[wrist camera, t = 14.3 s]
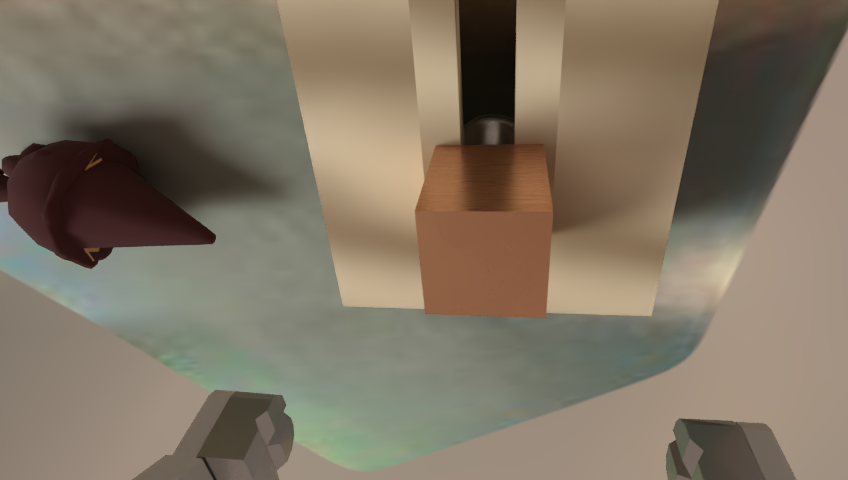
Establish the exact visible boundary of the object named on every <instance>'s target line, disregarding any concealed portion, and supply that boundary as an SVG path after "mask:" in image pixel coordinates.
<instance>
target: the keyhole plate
mask: <svg viewBox="0 0 848 480" xmlns="http://www.w3.org/2000/svg"><path fill="white" fill-rule="evenodd" d="M277 3H278V8H279V12H280V17H281V22H282V26H283V31H284V35H285V40H286V45H287V49H288V54H289V59H290V63H291V68H292V72H293V77H294V82H295V86H296V91H297V95H298V100H299V105H300V109H301V114H302V119H303V123H304V128H305V132H306V137H307V142H308V146H309V151H310V155H311V160H312V165H313V169H314V174H315V179H316V183H317V188H318V192H319V197H320V202H321V206H322V211H323V215H324V220H325V225H326V229H327V234H328V239H329V243H330V248H331V252H332V257H333V262H334V266H335V271H336V275H337V280H338V285H339V289H340V294H341V298H342V303H343V306H352V307H383V308H415V309H424V299H423V289H422V279H421V269H420V259H419V250H418V240H417V230H416V220H415V209H416V205H417V202H418V199H419V196H420V193H421V190H422V186H423V183H424V180H425V177H426V174H427V171H428V167H429V164H430V161H431V158H432V155H433V152H434V148H435V146H452V145H464V125H463V100H462V75H461V50H460V25H459V0H277ZM718 3H719V0H517V9H516V69H515V128H514V144H544V150H545V157H546V164H547V171H548V178H549V185H550V192H551V199H552V206H553V223H552V237H551V252H550V267H549V281H548V296H547V311H546V313H570V314H601V315H633V316H652V311H653V307H654V302H655V297H656V293H657V288H658V283H659V278H660V274H661V269H662V264H663V260H664V255H665V250H666V246H667V241H668V236H669V232H670V227H671V222H672V218H673V213H674V208H675V204H676V199H677V194H678V190H679V185H680V180H681V176H682V171H683V166H684V162H685V157H686V152H687V148H688V143H689V138H690V134H691V129H692V124H693V119H694V115H695V110H696V105H697V101H698V96H699V91H700V87H701V82H702V77H703V73H704V68H705V63H706V59H707V54H708V49H709V45H710V40H711V35H712V31H713V26H714V21H715V17H716V12H717V7H718Z"/></svg>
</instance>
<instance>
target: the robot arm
mask: <svg viewBox="0 0 848 480" xmlns="http://www.w3.org/2000/svg"><path fill="white" fill-rule="evenodd" d="M285 407H286V403H285V401H284V399H283V396H282V395H273V394H261V393H249V392H238V391H224V390H215V391H214V392H213V393H211V394H210V395H209V396H208V398H207V399H206V401H205V403H204V404H203V406H202V407H201V409H200V411H199V412H198V414H197V416H196V417H195V419H194V420H193V422H192V424H191V426H190V427H189V429H188V430H187V432H186V434H185V435H184V437H183V439H182V440H181V442H180V443H179V445H178V447H177V448H176V450H175V452H174V453H173V455H165V456H164V457H163V458H161V459H160V460H158V461H157V462H156V463H154V464H153V465H152V466H150V467H149V468H147V469H146V470H145V471H143V472H142V473H141V474H139V475H138V476H136V477H135V478H134V479H132V480H279V477H278V474H277V470H278V469H279V468H280V467H281V466H283V465H284V464H285V463H286V462H287V461H288V458H289V455H290V453H291V450H292V445H293V439H294V427H293V423H292V420H291V418H290V417H289V416H288V415H286V414H285V413H284V412H283V411H284V409H285ZM673 431H674V434H675V438H676V440H675V441H673V442H672V443H670V444H669V446H668V450H667V454H666V471H667V477H668V480H796V478H795V476H794V474H793V472H792V470H791V468H790V466H789V464H788V462H787V460H786V458H785V456H784V454H783V452H782V450H781V448H780V446H779V444H778V442H777V440H776V438H775V436H774V434H773V432H772V430H771V429H770V428H769V427H768V426H767V425H766V424H763V423H746V422H745V423H744V422H733V421H721V420H700V419H678V420H677V421H676V423H675V426H674V429H673Z"/></svg>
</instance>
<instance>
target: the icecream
mask: <svg viewBox="0 0 848 480" xmlns="http://www.w3.org/2000/svg"><path fill="white" fill-rule="evenodd" d="M4 173H5V174H7V175H8V176H9V177H7V176H5V175H3V174H4ZM7 201H8V210H9V214H10V216H11V217H12V218H13V219H14V220H15V221H16V223H17V224H18V225H19V226H20V227H21V228H22V229H23V230H24V231H25V232H26V233H27V234H28V235H29V236H30V237H31V238H32V239H33V240H34V241H35V242H36V243H37V244H38V245H40V246H42V247H44V248H46V249H48V250H50V251H52V252H54V253H55V254H56V255H57V256H59V257H60V258H62V259H65V260H69V261H72V262H74V263H76V264H79V265H81V266H83V267H86V268H90V269H92V268H93V267H94V266H95V265H97V263H98V260H103V259H105V258H106V257H107V256H109V254H110V253H111V252H112V249H113V247H138V246H168V245H203V244H213V243H214V242H215V240H216V235H215V234H214V233H213V232H211V231H210V230H209V229H208V228H206V227H205V226H204V225H202V224H201V223H200V222H198V221H197V220H196V219H194V218H193V217H192V216H190V215H189V214H187V213H186V212H185V211H184V210H182V209H181V208H180V207H178V206H177V205H176V204H174V203H173V202H172V201H171V200H169V199H168V198H167V197H165V196H164V195H163V194H161V193H160V192H159V191H158V190H156V189H155V188H154V187H152V186H151V185H150V184H148V183H147V182H146V181H145V180H143V179H142V178H141V177H139V174H138V167H137V163H136V159H135V157H134V156H133V155H132V154H131V153H130V152H128V151H126V150H124V149H122V148H120V147H118V146H116V145H115V144H114V143H113V142H112V141H111V140H104V141H102V142H97V143H91V142H80V141H70V140H65V141H60V142H56V143H51V144H49V145H47V146H46V145H40V144H34V143H33V144H32V145H30V146H29V147H28V148H27V149H25V150H24V151H23V152H22V153H21V154H20V155H13V156H8V157H5V158H3V159H2V170H1V169H0V202H7Z"/></svg>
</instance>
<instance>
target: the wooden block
mask: <svg viewBox="0 0 848 480" xmlns="http://www.w3.org/2000/svg"><path fill="white" fill-rule="evenodd" d="M514 128H515V120H514V119H512V118H510V117H508V116H504V115H500V114H486V115H481V116H479V117H476V118H474V119H472V120H470V121H469V122H467V123H466V124H465V125H464V145H452V146H435V148H434V152H433V155H432V158H431V161H430V164H429V167H428V171H427V174H426V177H425V180H424V183H423V186H422V190H421V193H420V196H419V199H418V202H417V205H416V209H415V220H416V230H417V240H418V250H419V259H420V269H421V279H422V289H423V299H424V309H425V314H442V315H470V316H498V317H527V318H546V311H547V296H548V281H549V267H550V252H551V237H552V223H553V206H552V199H551V192H550V185H549V178H548V171H547V164H546V157H545V150H544V144H514Z"/></svg>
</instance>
